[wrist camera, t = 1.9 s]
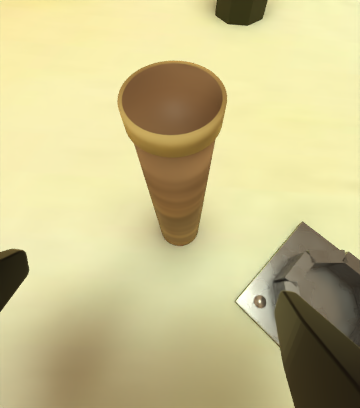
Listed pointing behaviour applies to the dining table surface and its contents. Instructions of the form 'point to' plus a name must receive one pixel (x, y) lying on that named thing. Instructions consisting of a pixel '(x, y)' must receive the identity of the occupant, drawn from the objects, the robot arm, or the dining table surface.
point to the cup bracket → (307, 283)
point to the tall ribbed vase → (174, 138)
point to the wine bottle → (240, 11)
